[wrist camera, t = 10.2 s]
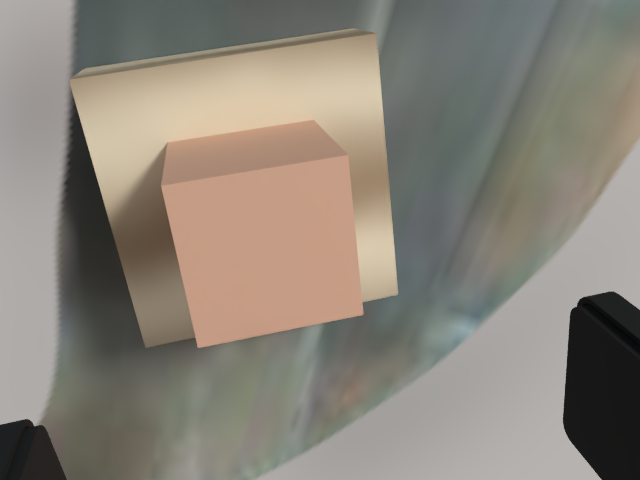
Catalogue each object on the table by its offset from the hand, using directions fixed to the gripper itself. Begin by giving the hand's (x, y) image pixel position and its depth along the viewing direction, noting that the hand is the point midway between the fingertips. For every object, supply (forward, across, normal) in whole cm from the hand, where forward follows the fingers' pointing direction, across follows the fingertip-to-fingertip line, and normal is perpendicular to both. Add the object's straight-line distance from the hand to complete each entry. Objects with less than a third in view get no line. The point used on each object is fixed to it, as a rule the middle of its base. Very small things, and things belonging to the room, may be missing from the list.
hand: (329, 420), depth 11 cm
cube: (+14, 0, +1) cm, 14 cm away
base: (+18, 0, +1) cm, 18 cm away
